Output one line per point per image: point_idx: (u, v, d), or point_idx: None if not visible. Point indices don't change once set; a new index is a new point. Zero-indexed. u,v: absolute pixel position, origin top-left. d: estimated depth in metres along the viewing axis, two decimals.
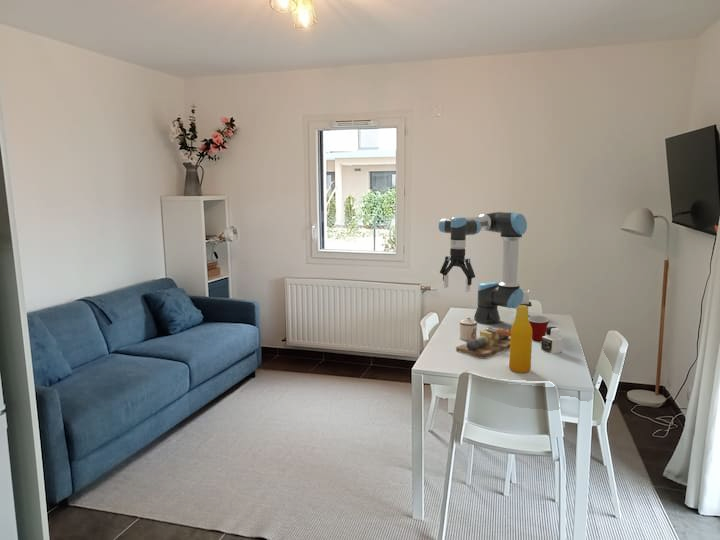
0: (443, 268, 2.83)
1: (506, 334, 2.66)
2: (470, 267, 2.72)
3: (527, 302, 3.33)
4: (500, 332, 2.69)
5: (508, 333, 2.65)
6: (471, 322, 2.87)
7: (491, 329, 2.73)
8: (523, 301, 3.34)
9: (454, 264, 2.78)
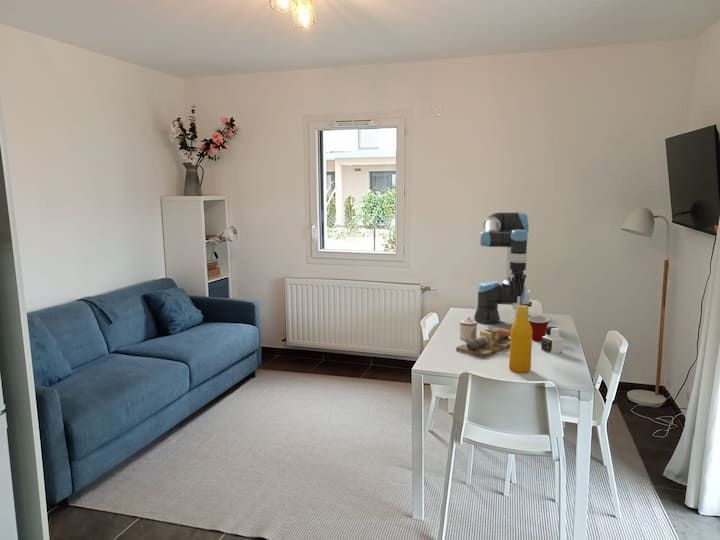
0: None
1: (506, 334, 2.66)
2: (511, 286, 2.66)
3: (527, 302, 3.33)
4: (500, 332, 2.69)
5: (508, 333, 2.65)
6: (471, 322, 2.87)
7: (491, 329, 2.73)
8: (523, 301, 3.34)
9: None
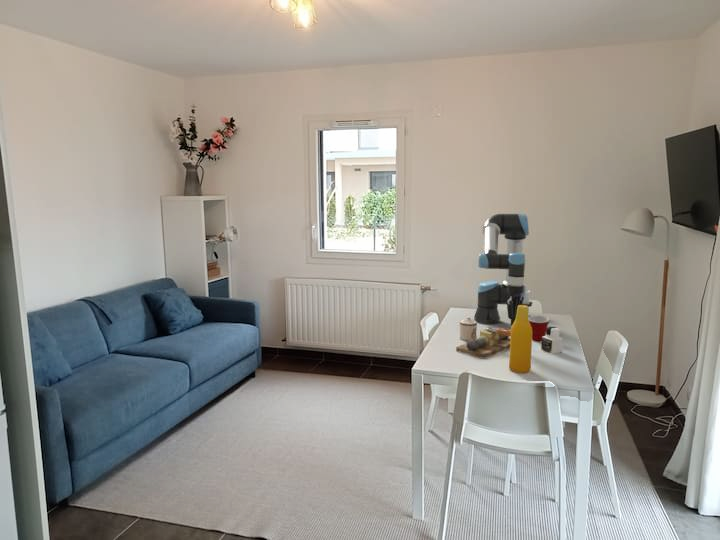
0: None
1: (506, 334, 2.66)
2: (509, 309, 2.67)
3: (527, 302, 3.33)
4: (500, 332, 2.69)
5: (508, 333, 2.65)
6: (471, 322, 2.87)
7: (491, 329, 2.73)
8: (523, 301, 3.34)
9: None
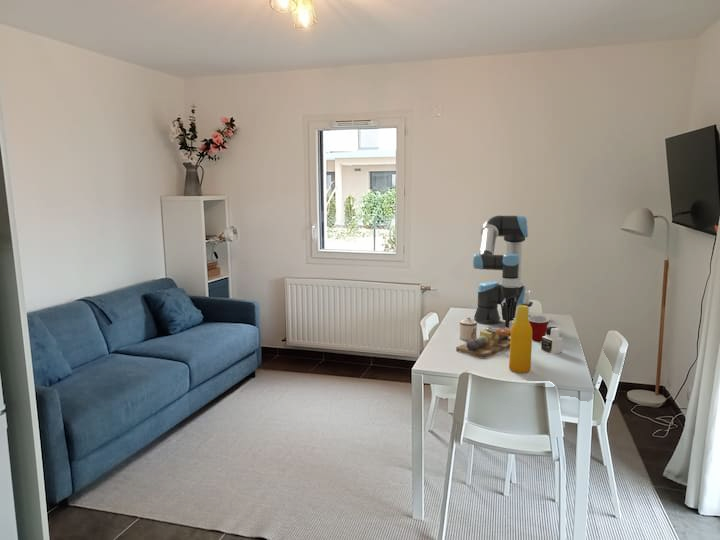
0: None
1: (505, 334, 2.66)
2: (503, 310, 2.64)
3: (527, 302, 3.33)
4: (499, 332, 2.68)
5: (507, 333, 2.65)
6: (471, 322, 2.87)
7: (491, 329, 2.73)
8: (523, 301, 3.34)
9: None
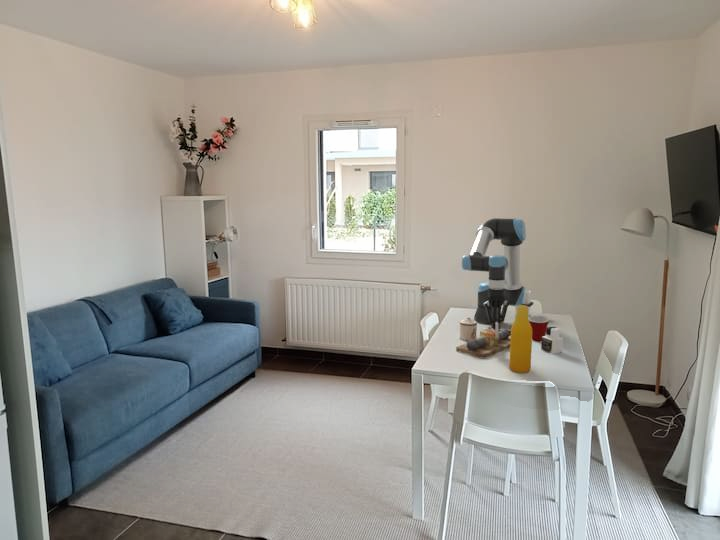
0: (501, 313, 2.65)
1: (487, 335, 2.65)
2: (486, 312, 2.62)
3: (527, 302, 3.33)
4: None
5: (487, 334, 2.64)
6: (471, 322, 2.87)
7: (487, 329, 2.73)
8: (523, 301, 3.34)
9: None
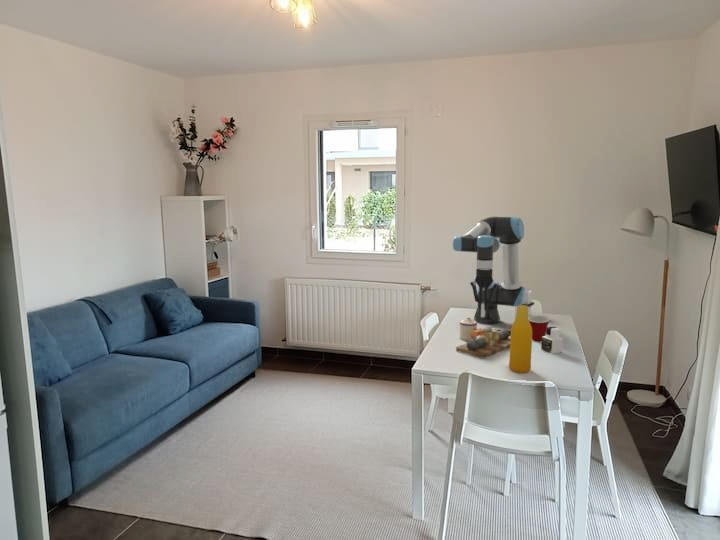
0: None
1: None
2: None
3: (526, 302, 3.33)
4: None
5: None
6: (471, 322, 2.87)
7: (485, 328, 2.74)
8: (523, 301, 3.34)
9: None
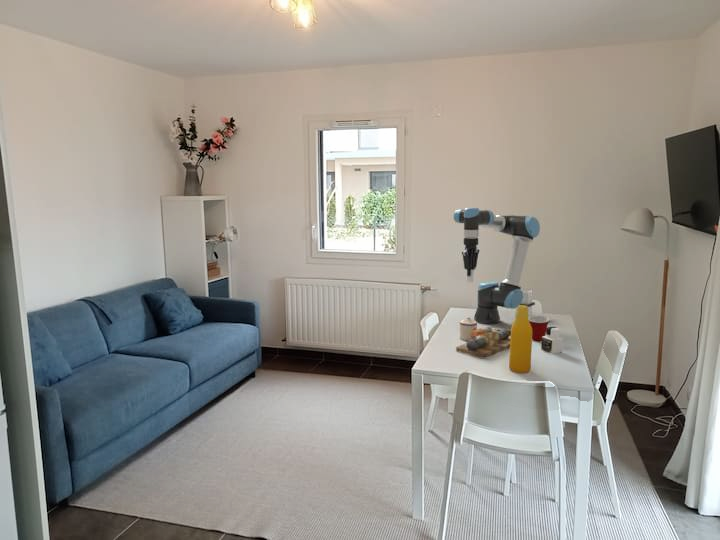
0: None
1: None
2: (465, 260, 2.86)
3: (526, 302, 3.33)
4: None
5: None
6: (471, 322, 2.87)
7: (485, 328, 2.74)
8: (522, 301, 3.34)
9: None
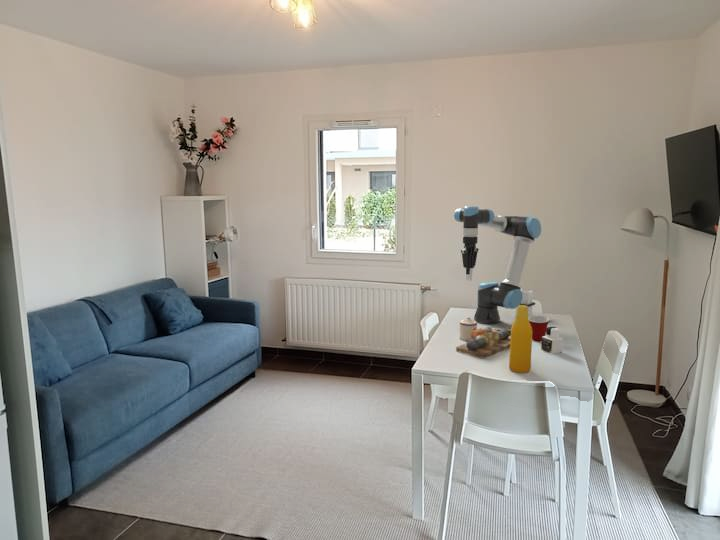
0: None
1: None
2: (464, 258, 2.87)
3: (526, 302, 3.33)
4: None
5: None
6: (471, 322, 2.87)
7: (485, 328, 2.74)
8: (522, 301, 3.34)
9: None
